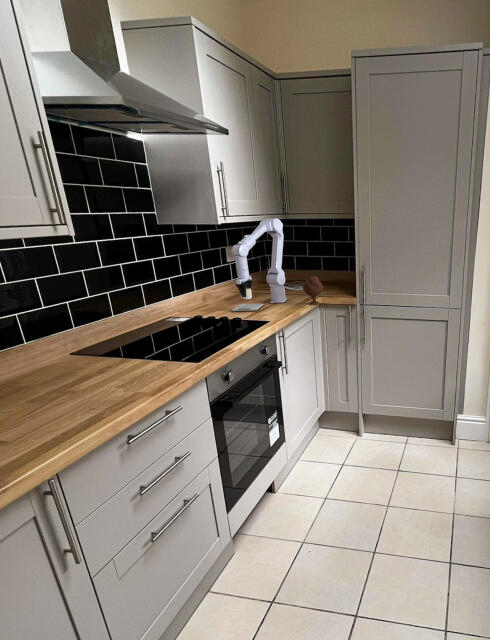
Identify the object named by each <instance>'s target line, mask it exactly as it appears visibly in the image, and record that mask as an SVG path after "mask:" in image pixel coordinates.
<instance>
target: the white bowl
mask: <svg viewBox="0 0 490 640" xmlns="http://www.w3.org/2000/svg"><path fill="white" fill-rule="evenodd" d="M240 298H241V299H242V300H251V299H252V298H253V293H252V287H251V288H246V297H242V296H241V295H240Z"/></svg>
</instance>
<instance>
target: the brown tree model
mask: <svg viewBox="0 0 490 640" xmlns="http://www.w3.org/2000/svg"><path fill="white" fill-rule="evenodd" d="M323 290H324V285H323V284H322V282H321V281H320V278H319V277H317V276H315V275H312V276H310V277H309V278H308V279H306V280H305V281H304V283H303V286H302V291H304V293H305V294H306V295H308V296H309V297H311V298H312V300H311V301H310V302H309V305H311V306H316V305H320V303H321V302H320V301H318V300H317V298H316V297H318V296H319V295H320V294H321V293H322V292H323Z"/></svg>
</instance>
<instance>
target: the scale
mask: <svg viewBox="0 0 490 640" xmlns="http://www.w3.org/2000/svg"><path fill="white" fill-rule="evenodd" d="M264 306H265V305H264V303H240V304H239V305H237V306H236V307H234V308H232V309H231V313H256V312H258V311H259V310H261V309H262V308H264Z"/></svg>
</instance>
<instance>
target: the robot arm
mask: <svg viewBox="0 0 490 640" xmlns="http://www.w3.org/2000/svg"><path fill="white" fill-rule="evenodd" d="M283 226H284V223H282V221H281V220H280V219H279V218H276V217H275V218H264V219H262V220H261V221H260V222H259V224H258V226H256V227H255V229H254V230H253V231H252V233H251V234H245V235H244V236H243V238H242V239H241V240H240V241H238V242H237V244H235V245H233V246H232V248H231V251H230V253H231V255H232V256H233V258H234V262H235V268H236V275H237V279H236V280H235V286H236V288H237V290H238V291H239V295H240V297H241V296H242V297H246V288H251V289H252V287H253V283H254V280H252V279H253V278H252V275H250V271H249V266H248V259H247V258H248V257H247V256H248V255H249V251H250V250H251V249H252V248H253V247H254V246H255V245H256V243H257V240H258V239H259V238H260V237H262V236H263V234H265V232H266V233H267V234H268V235H270V236H271V237H272V247H271V249H272V250H271V261H270V262H271V265H270V267H269V269H268V270H267V275H266V277H265V281H266V283H267V284H268V286H269V291H270V297H271V301H269V303H270V304H282V303H283V304H284V303H285V302H287V300H288V298H286V297H287V296H286V289H285V286H284V285H285V283H286V276H285V271H284V270H283V269H282V265H283V249H284V233H283V232H284V231H283V229H284V228H283Z"/></svg>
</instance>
